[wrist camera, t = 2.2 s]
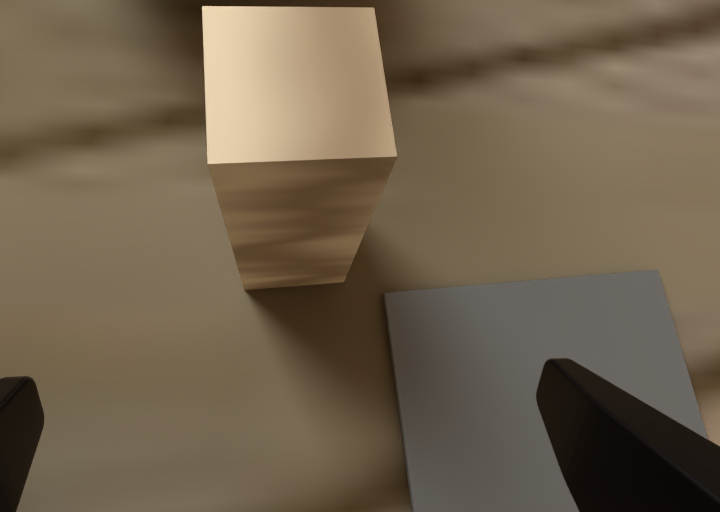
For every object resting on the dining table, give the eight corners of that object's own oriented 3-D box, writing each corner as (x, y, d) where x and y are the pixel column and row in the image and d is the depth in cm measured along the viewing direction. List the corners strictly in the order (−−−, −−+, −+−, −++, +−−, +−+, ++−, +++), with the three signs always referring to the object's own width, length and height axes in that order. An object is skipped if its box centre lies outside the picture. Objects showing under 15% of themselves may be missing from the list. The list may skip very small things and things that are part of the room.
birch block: (244, 290, 23) (207, 163, 12) (239, 197, 25) (201, 6, 13) (343, 282, 24) (397, 156, 13) (333, 193, 25) (374, 7, 14)
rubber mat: (447, 776, 19) (451, 784, 19) (383, 294, 24) (384, 292, 24) (776, 695, 21) (784, 700, 21) (652, 271, 26) (657, 269, 26)
